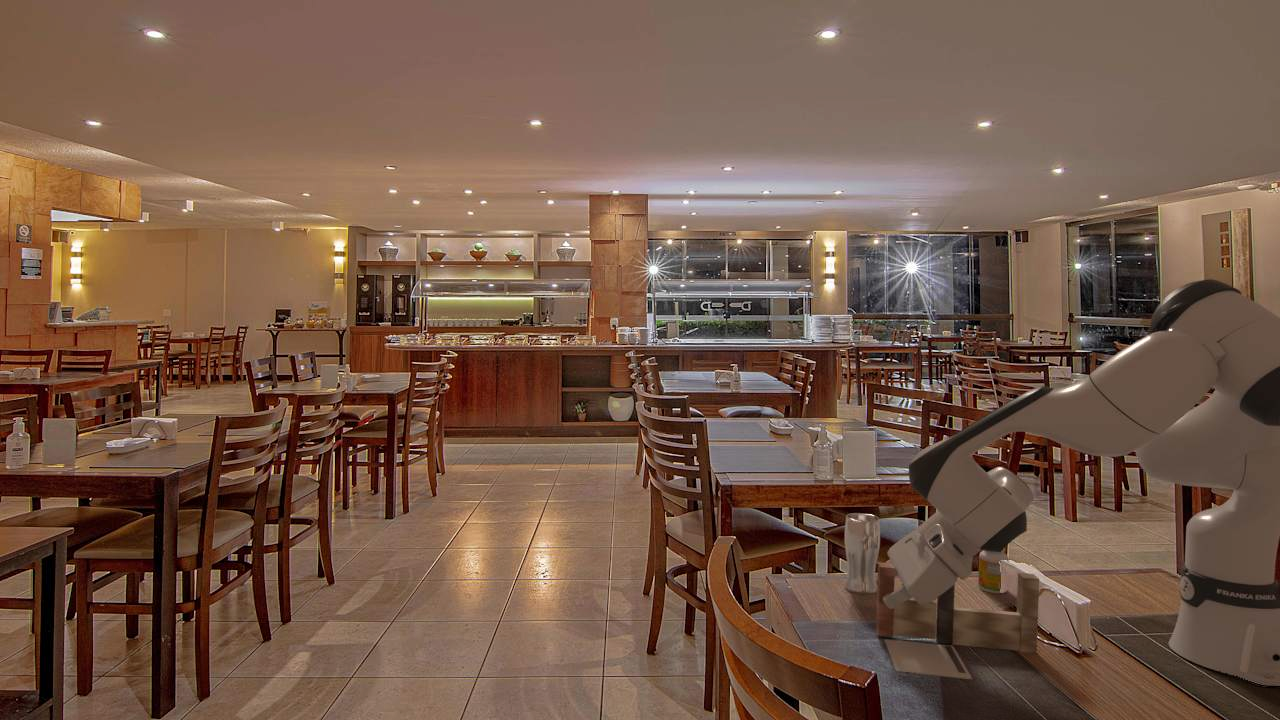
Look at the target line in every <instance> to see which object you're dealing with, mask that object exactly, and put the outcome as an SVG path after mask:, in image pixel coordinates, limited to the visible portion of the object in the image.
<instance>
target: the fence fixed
mask: <svg viewBox="0 0 1280 720" xmlns="http://www.w3.org/2000/svg"><path fill="white" fill-rule="evenodd" d="M955 584H956V583H955ZM955 584H954V585H953V586H952V587H951V588H949V589H948V590H947V591H946V592H944V593H943V594H942V595H940V596H939V597H938V598H936V599H937V602H936V639H935V641H936V643H937V644H939V645H949V646H954V645H955V646H964V647H977V648H988V649H997V650H1005V651H1007V650H1008V651H1017V652H1020V653H1021V654H1023V653H1024V654H1031V655H1036V654H1038V653H1037V652H1038V650H1037V649H1038V625H1039V598H1040V597H1039V596H1040V594H1039V593H1040V578H1039V577H1038V576H1037V575H1036V574H1035V573H1028V572H1027V573H1024V572H1017V595H1016V596H1017V597H1016V599H1017V600H1016V612H1014V611H1004V610H993V609H992V610H991V609H979V608H969V607H957V606H955V588H956V587H955V586H956V585H955Z"/></svg>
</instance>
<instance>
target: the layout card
mask: <svg viewBox="0 0 1280 720" xmlns="http://www.w3.org/2000/svg"><path fill="white" fill-rule="evenodd" d="M884 642H885V645H886V648H887V650H889V651H888V653H890V654H889V656H890V655H891V656H890V658H892V659H891V661H893V662H892V664H893V663H894V664H893V666H895V667H894V669H897V671H898V669H899V671H904V672H903V673H905V672H910V673H909V674H915V673H916V674H917V675H923V676H924V675H925V676H926V675H928V676H936V677H945V678H955V679H965V680H973V677H972V676H971V673H969V670H968V669H967V667H966V665H965V663H964V662H963V660H962V658H961V657H960V655H959V653H958V651H957V650H956V648H955V647H954V645H950V646H949V645H941V644H939V643H937V644H936V643H927V642H926V643H925V642H917V641H916V642H915V641H904V640H895V639H885V638H884ZM899 667H900V668H899Z"/></svg>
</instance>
